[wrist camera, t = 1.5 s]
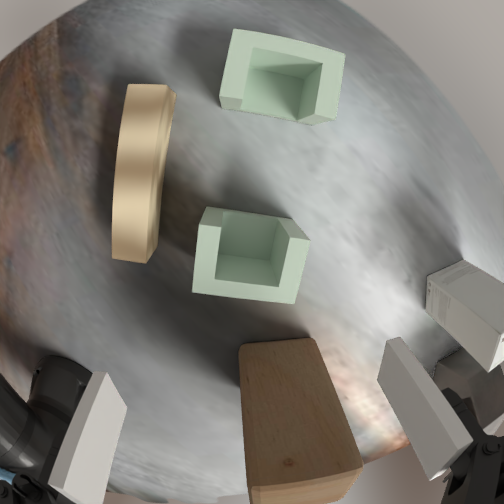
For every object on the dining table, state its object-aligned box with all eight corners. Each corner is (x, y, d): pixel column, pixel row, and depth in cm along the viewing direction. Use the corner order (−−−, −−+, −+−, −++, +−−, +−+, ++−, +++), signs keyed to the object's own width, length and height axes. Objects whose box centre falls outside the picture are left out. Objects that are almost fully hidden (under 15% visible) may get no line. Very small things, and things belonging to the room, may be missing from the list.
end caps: (281, 271, 32) (294, 304, 25) (199, 260, 30) (192, 292, 24) (320, 73, 24) (345, 54, 18) (232, 55, 23) (233, 28, 16)
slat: (158, 245, 30) (145, 263, 25) (128, 241, 29) (111, 258, 25) (177, 95, 24) (166, 84, 20) (144, 93, 24) (128, 84, 19)
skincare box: (423, 311, 36) (484, 376, 21) (425, 272, 33) (499, 335, 19) (462, 292, 35) (524, 345, 21) (465, 255, 33) (537, 304, 19)
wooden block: (237, 340, 34) (247, 489, 16) (315, 333, 35) (369, 467, 16) (241, 391, 38) (251, 515, 19) (309, 385, 39) (344, 501, 20)
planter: (456, 350, 34) (487, 456, 22) (487, 331, 33) (518, 430, 21) (421, 371, 47) (446, 452, 35) (449, 356, 47) (474, 434, 35)
